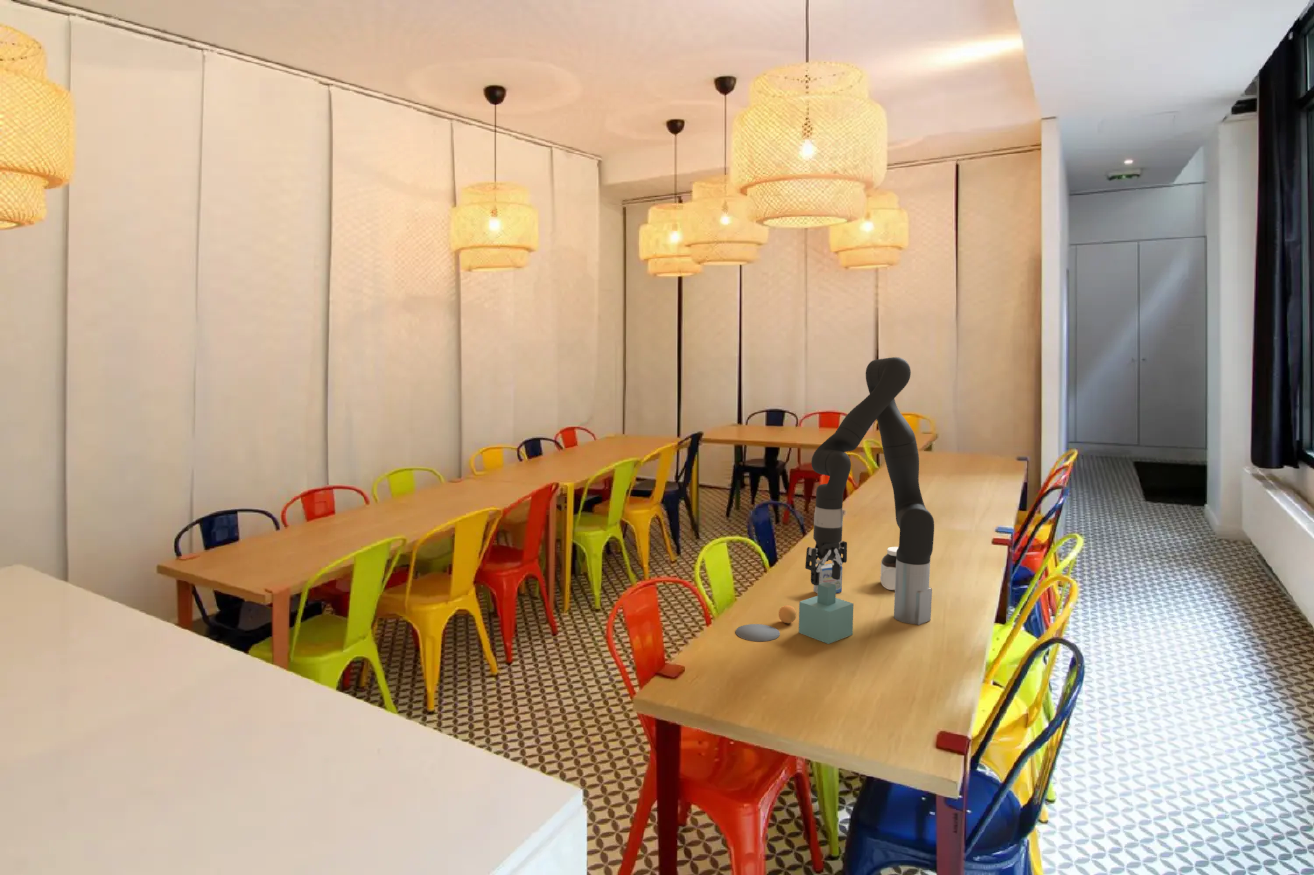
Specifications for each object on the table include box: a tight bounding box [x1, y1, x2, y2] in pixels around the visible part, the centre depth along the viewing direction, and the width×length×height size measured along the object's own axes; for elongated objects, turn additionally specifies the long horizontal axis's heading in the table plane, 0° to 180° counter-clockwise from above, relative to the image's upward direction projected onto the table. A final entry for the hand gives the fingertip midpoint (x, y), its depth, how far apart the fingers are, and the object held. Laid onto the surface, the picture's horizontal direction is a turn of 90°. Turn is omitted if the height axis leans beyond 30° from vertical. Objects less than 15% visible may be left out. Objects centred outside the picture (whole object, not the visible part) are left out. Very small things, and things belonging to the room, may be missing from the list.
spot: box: [735, 623, 781, 642], centre depth 214 cm, size 12×12×1 cm
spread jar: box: [879, 546, 899, 591], centre depth 253 cm, size 12×11×12 cm
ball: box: [778, 604, 797, 624], centre depth 221 cm, size 5×5×5 cm
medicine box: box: [813, 562, 843, 594], centre depth 247 cm, size 8×4×9 cm, turn 112°
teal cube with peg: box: [798, 582, 854, 645], centre depth 212 cm, size 10×10×14 cm
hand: (825, 581), depth 212 cm, fingers open, 8 cm apart
